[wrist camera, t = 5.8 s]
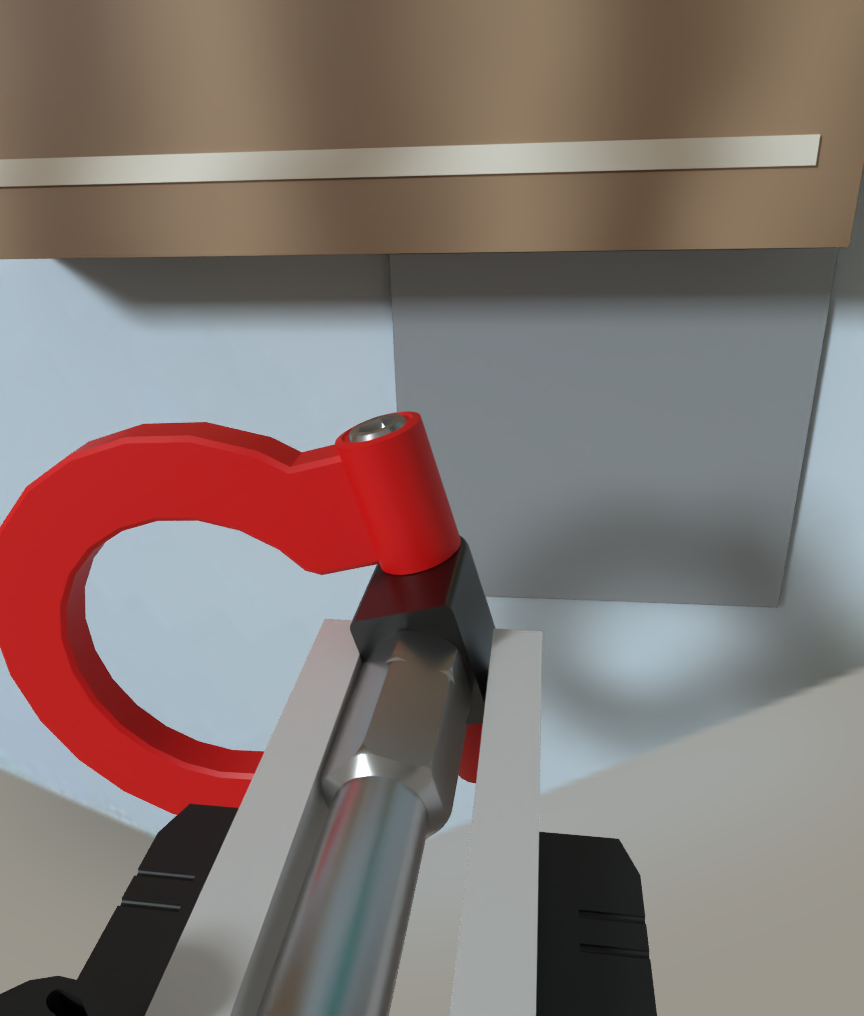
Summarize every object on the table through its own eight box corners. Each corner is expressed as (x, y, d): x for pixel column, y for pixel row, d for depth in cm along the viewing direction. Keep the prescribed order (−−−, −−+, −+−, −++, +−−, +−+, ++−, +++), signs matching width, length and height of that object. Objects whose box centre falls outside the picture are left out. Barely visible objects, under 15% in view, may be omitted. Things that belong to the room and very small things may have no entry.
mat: (835, 246, 22) (839, 247, 22) (775, 602, 26) (778, 607, 26) (390, 252, 23) (389, 254, 23) (407, 588, 28) (405, 593, 28)
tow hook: (139, 809, 18) (546, 760, 16) (-602, 1991, 7) (466, 2479, 4) (-55, 471, 15) (416, 344, 13) (-2049, 1605, 4) (-1150, 2610, 1)
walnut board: (871, -264, 18) (958, -367, 14) (798, 227, 22) (850, 247, 18) (-67, -180, 20) (-204, -250, 17) (27, 240, 24) (-65, 260, 21)
